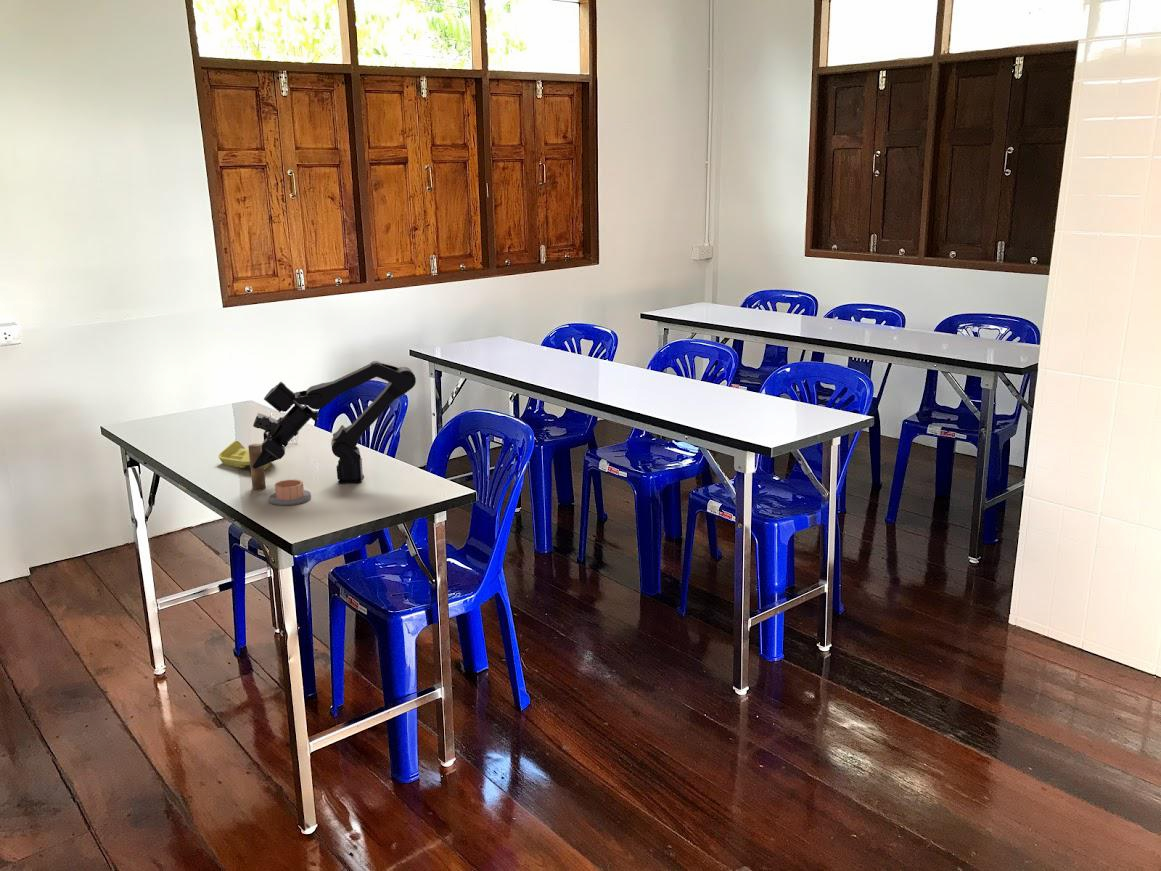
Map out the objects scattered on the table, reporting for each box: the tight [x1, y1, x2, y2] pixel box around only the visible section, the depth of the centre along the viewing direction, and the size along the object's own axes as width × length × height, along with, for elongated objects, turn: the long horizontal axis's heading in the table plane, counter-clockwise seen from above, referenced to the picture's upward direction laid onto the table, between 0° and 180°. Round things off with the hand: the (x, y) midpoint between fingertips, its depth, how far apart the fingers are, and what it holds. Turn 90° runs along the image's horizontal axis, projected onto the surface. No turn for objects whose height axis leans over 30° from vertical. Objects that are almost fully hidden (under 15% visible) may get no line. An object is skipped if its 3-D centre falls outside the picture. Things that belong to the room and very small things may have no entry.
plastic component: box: [217, 440, 271, 470], centre depth 295 cm, size 20×7×10 cm
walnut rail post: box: [247, 443, 267, 491], centre depth 272 cm, size 4×4×12 cm
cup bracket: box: [268, 478, 312, 507], centre depth 263 cm, size 11×11×4 cm
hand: (254, 463), depth 272 cm, fingers open, 9 cm apart
